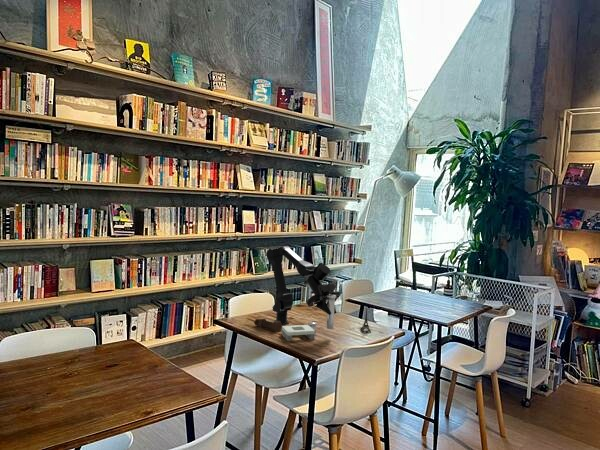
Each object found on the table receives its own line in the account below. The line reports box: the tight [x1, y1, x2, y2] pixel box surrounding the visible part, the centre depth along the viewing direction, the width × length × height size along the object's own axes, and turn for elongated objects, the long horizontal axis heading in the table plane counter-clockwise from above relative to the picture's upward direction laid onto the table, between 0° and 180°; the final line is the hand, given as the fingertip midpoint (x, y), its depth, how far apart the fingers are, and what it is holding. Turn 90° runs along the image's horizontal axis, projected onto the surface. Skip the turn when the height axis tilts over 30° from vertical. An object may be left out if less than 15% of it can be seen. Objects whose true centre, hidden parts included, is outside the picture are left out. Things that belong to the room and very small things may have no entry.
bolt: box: [253, 318, 283, 333], centre depth 217 cm, size 6×5×15 cm
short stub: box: [307, 321, 318, 334], centre depth 213 cm, size 4×4×5 cm
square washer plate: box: [281, 324, 316, 342], centre depth 205 cm, size 10×13×4 cm
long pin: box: [326, 293, 336, 330], centre depth 204 cm, size 4×4×16 cm
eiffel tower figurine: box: [349, 307, 384, 334], centre depth 219 cm, size 15×10×13 cm
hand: (333, 313), depth 203 cm, fingers closed on long pin, 3 cm apart
